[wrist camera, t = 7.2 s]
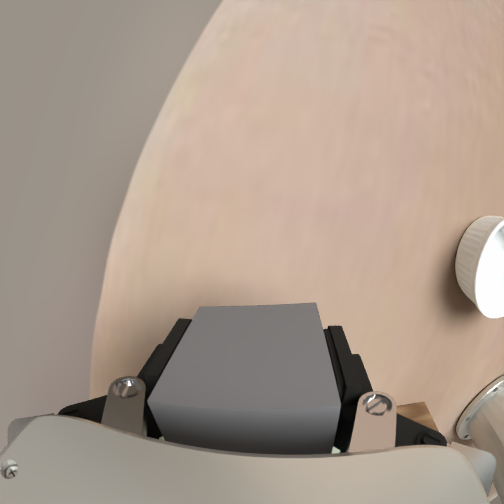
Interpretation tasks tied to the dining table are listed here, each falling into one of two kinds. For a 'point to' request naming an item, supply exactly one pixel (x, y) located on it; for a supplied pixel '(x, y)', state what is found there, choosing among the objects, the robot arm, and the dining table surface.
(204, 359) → the grey block
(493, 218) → the ramekin
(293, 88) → the dining table surface
